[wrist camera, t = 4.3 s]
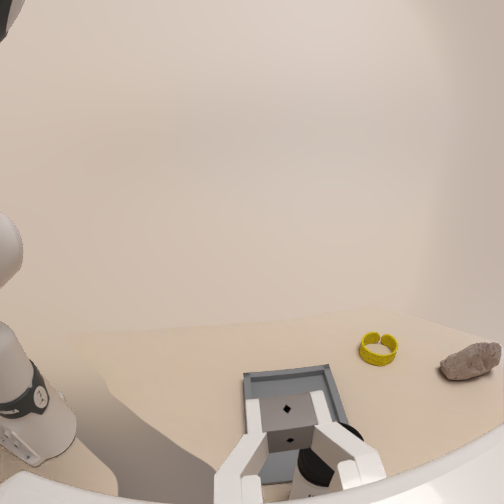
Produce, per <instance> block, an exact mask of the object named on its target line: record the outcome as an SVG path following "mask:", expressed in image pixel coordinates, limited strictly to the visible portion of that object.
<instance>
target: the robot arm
mask: <svg viewBox="0 0 504 504" xmlns="http://www.w3.org/2000/svg"><path fill="white" fill-rule="evenodd" d="M24 1H25V0H0V42H1V41H2V40H3V39H4V38H5V37H6V35H7V33H8V30H9V29H10V27H11V26H12V24H13V23H14V21H15V19H16V18H17V16H18V14H19V12H20V11H21V8H22V6H23V4H24ZM22 260H23V244H22V239H21V236H20V233H19V231H18V229H17V227H16V226H15V224H14V223H13V222H12V221H11V220H10V219H9V218H8V217H7V216H5V215H4V214H2V213H0V288H2V287H3V286H4V285H5V284H6V283H7V282H8V281H9V280H10V279H11V278H12V277H13V276H14V275H15V274H16V272H17V271H19V270H20V268H21V264H22ZM259 403H260V405H259ZM260 412H261V413H260ZM246 418H247V432H248V434H244V435H243V436H242V438H241V439H240V441H239V442H238V444H237V445H236V446H235V448H234V449H233V451H232V452H231V454H230V455H229V456H228V458H227V459H226V461H225V462H224V463H223V465H222V466H221V467H220V469H219V470H218V471H217V473H216V474H215V476H214V504H504V422H503V423H502V424H500V425H499V426H497V427H495V428H494V429H492V430H491V431H489V432H487V433H485V434H484V435H482V436H480V437H478V438H477V439H475V440H473V441H471V442H469V443H467V444H466V445H464V446H462V447H460V448H458V449H456V450H454V451H452V452H450V453H447V454H445V455H443V456H441V457H439V458H437V459H434V460H432V461H430V462H427V463H425V464H423V465H420V466H418V467H415V468H413V469H410V470H407V471H405V472H402V473H399V474H396V475H393V476H390V477H387V476H386V473H385V470H384V468H383V465H382V462H381V459H380V457H379V454H378V451H376V450H375V449H373V448H372V447H370V446H369V445H368V444H366V443H365V442H363V441H362V440H361V439H359V438H358V437H356V436H355V435H354V434H352V433H351V432H350V431H348V430H347V429H346V428H344V427H343V426H341V425H340V424H339V423H337V422H332V419H331V415H330V412H329V409H328V406H327V402H326V399H325V396H324V393H323V391H322V390H319V391H313V392H305V393H299V394H293V395H286V396H282V397H272V398H261V399H249V400H246ZM76 430H77V421H76V417H75V415H74V413H73V411H72V410H71V409H70V408H69V406H68V405H67V404H66V400H65V397H64V395H63V394H62V393H61V392H59V391H56V390H55V389H54V388H53V386H52V385H51V384H50V383H49V381H48V380H47V379H46V378H45V376H44V375H42V374H40V371H39V370H38V369H37V367H36V366H35V365H34V363H33V362H32V361H31V360H30V359H28V357H27V355H26V354H25V352H24V350H23V348H22V346H21V345H20V343H19V341H18V339H17V337H16V335H15V333H14V332H13V330H12V329H11V328H10V327H9V326H8V325H6V324H5V323H3V322H0V444H1V445H2V446H3V447H5V448H6V449H7V450H9V451H10V452H11V453H13V454H14V455H16V456H17V457H19V458H20V459H21V460H23V461H24V462H26V463H27V464H29V465H30V466H32V467H36V466H38V465H40V464H41V463H42V462H43V461H44V460H46V459H49V458H52V457H55V456H57V455H59V454H61V453H62V452H64V451H65V450H66V449H67V448H68V447H69V446H70V444H71V443H72V441H73V439H74V437H75V434H76ZM305 448H311V449H312V450H313V451H314V452H315V453H316V454H317V455H318V456H319V457H320V458H321V459H322V460H323V461H324V462H325V463H326V464H327V465H328V466H330V467H331V468H332V469H333V470H334V471H335V473H334V475H333V478H332V480H331V482H330V485H329V490H330V493H328V494H323V495H318V496H313V497H307V498H301V499H295V500H287V501H279V502H270V503H264V497H263V491H262V485H261V479H260V477H259V476H257V475H258V473H259V472H260V470H261V468H262V466H263V465H264V463H265V461H266V459H267V457H268V455H269V453H277V452H283V451H290V450H298V449H305ZM29 457H30V458H29ZM0 504H169V503H158V502H149V501H141V500H134V499H128V498H122V497H117V496H111V495H106V494H102V493H97V492H93V491H89V490H85V489H81V488H77V487H73V486H70V485H66V484H63V483H59V482H56V481H53V480H50V479H47V478H44V477H41V476H39V475H36V474H33V473H31V472H28V471H21V472H19V473H17V474H15V475H13V476H12V477H10V478H9V479H7V480H6V481H4V482H3V483H1V484H0Z"/></svg>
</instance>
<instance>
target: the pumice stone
mask: <svg viewBox="0 0 504 504" xmlns="http://www.w3.org/2000/svg"><path fill="white" fill-rule="evenodd" d="M500 357H501V346H500V345H499V344H498V343H494V342H493V343H489V344H488V343H486V342H485V343H476V344H472V345H470V346H469V347H467V348H466V349H464V350H462V351H460V352H458V353H455V354H452V355H450V356H448V357H447V358H446V359H445V360H442V361H441V362H440V365H441V367H440V369H441V371H442V372H443V373H444V374H445V376H446V377H447V378H448V379H453V380H462V379H469V378H472V377H476V376H479V375H482V374H484V373H487V372H488V371H490V370H491V369H492V368H493V367H494V366H497V365H498V364H499V362H500Z"/></svg>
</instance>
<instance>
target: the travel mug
mask: <svg viewBox="0 0 504 504" xmlns="http://www.w3.org/2000/svg"><path fill="white" fill-rule="evenodd" d="M337 423H339V424H340V425H341V426H343V427H344V428H346V429H347V430H348V431H350V432H351V433H352V434H354V435H355V436H356V437H358V438H359V439H361V440H362V441H363V442H364V440H363V438H362V436H361V435H360V433H359V432H358V431H357V430H356V429H354V428H353V427H351V426H349V425H347V424H345V423H341V422H337ZM334 473H335V471H334V470H333V469H332V468H331V467H330V466H328V465H327V464H326V463H325V462H324V461H323V460H322V459H321V458H320V457H319V456H318V455H317V454H316V453H315V452H314V451H313V450H312V449H311V448H305V449H299V454H298V457H297V462H296V467H295V472H294V477H293V482H292V487H291V491H290V496H289V500H295V499H301V498H307V497H313V496H318V495H323V494H328V493H330V490H329V485H330V482H331V480H332V478H333V475H334Z"/></svg>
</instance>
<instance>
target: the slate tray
mask: <svg viewBox="0 0 504 504" xmlns="http://www.w3.org/2000/svg"><path fill="white" fill-rule="evenodd" d="M243 374H244V393H245V410H246V400H249V399H261V398H272V397H282V396H286V395H293V394H299V393H305V392H313V391H319V390H322V391H323V393H324V396H325V399H326V402H327V406H328V409H329V412H330V415H331V419H332V422H341V423H345V424H347V425H349V424H348V421H347V418H346V415H345V411H344V408H343V405H342V402H341V399H340V396H339V393H338V390H337V387H336V384H335V381H334V378H333V376H332V373H331V370H330V367H329V364H327V365H319V366H312V367H304V368H295V369H286V370H276V371H264V372H251V373H243ZM259 405H260V403H259ZM260 413H261V412H260ZM246 428H247V418H246ZM247 434H248V432H247ZM298 454H299V449H298V450H290V451H283V452H277V453H269V455H268V457H267V459H266V461H265V463H264V465H263V466H262V468H261V470H260V472H259V473H258V475H257V476H259V477H260V479H261V485H271V484H281V483H289V482H293V477H294V472H295V467H296V462H297V457H298Z"/></svg>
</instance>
